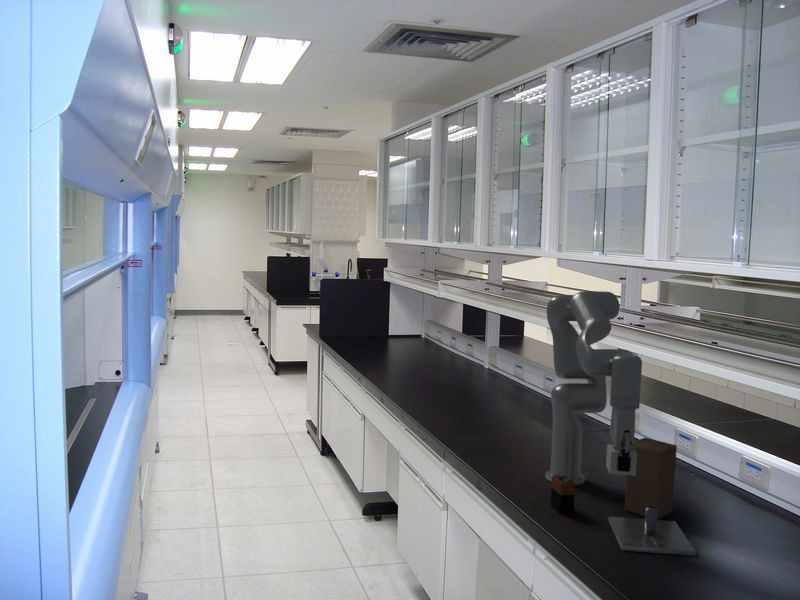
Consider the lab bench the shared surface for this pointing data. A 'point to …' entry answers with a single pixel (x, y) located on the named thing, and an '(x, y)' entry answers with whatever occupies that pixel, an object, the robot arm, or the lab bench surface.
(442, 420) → the lab bench surface
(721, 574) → the lab bench surface
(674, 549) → the plate
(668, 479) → the wooden block
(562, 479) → the battery
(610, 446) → the gray square frame
